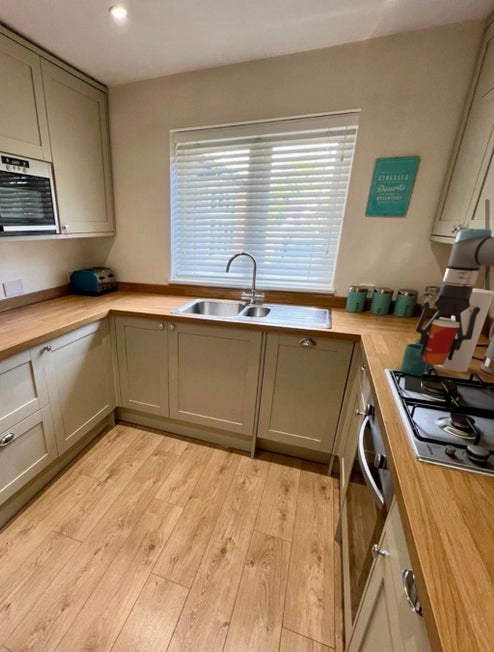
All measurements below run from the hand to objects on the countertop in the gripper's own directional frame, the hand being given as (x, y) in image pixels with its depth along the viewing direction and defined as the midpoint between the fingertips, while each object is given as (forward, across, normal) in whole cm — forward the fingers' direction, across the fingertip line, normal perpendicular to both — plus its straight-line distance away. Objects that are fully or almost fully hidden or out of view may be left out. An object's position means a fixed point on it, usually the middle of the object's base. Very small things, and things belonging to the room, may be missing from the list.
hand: (435, 356), depth 106 cm
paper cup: (+2, 0, 0) cm, 2 cm away
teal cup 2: (+11, -1, +21) cm, 24 cm away
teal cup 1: (+11, -4, +12) cm, 17 cm away
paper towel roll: (+11, +9, +28) cm, 31 cm away
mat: (+11, 0, 0) cm, 11 cm away
